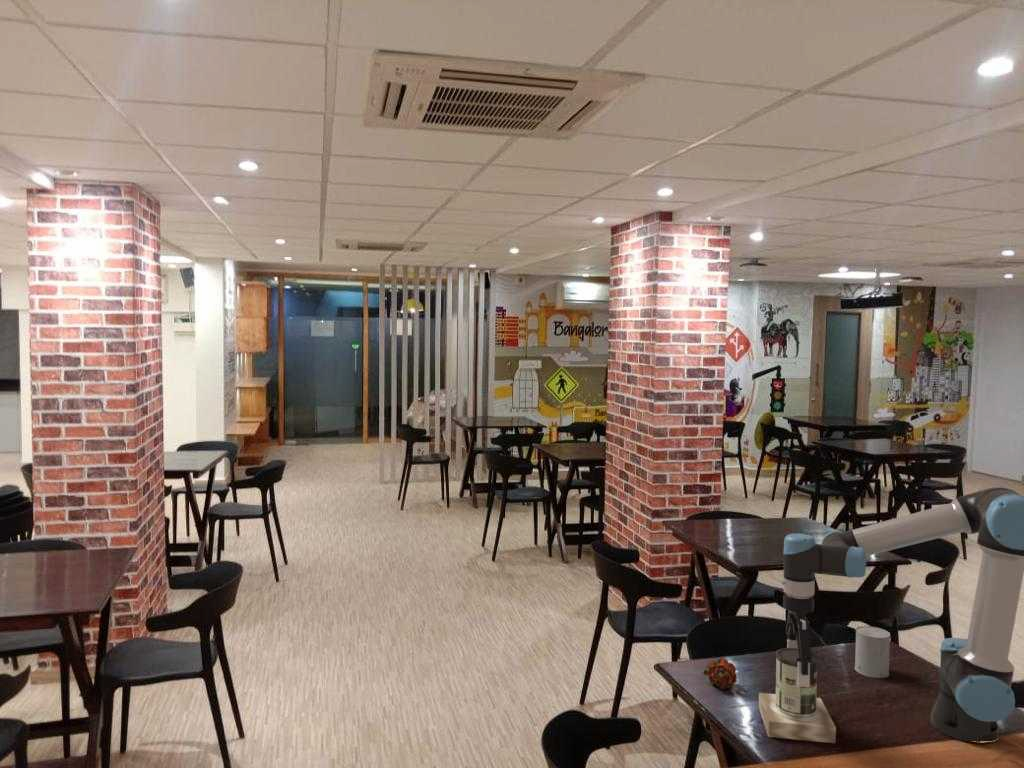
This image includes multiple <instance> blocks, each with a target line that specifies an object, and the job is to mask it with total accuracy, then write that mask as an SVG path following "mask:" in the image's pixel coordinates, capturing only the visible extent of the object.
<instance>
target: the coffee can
mask: <svg viewBox="0 0 1024 768" xmlns="http://www.w3.org/2000/svg"><path fill="white" fill-rule="evenodd" d="M811 656H812V663H810V687H799V686H798V662H796V659H797V658H799V655H798V649H797V648H787V647H784V648H780V649H777V650H776V651H775V657H776V658H775V659H776V661H775V664H776V665H775V666H776V667H775V694H776V701H775V706H776V708H777V709H778V710H779V711H781V712H783V713H785V714H788V715H791V716H795V717H811V716H813V715H815V714H816V712H817V710H816V698H817V695H818V694H817V692H818V690H817V689H818V688H817V687H818V686H817V684H818V663H819V658H818V656H817V655H816V654H815V653H813V652H811Z"/></svg>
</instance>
